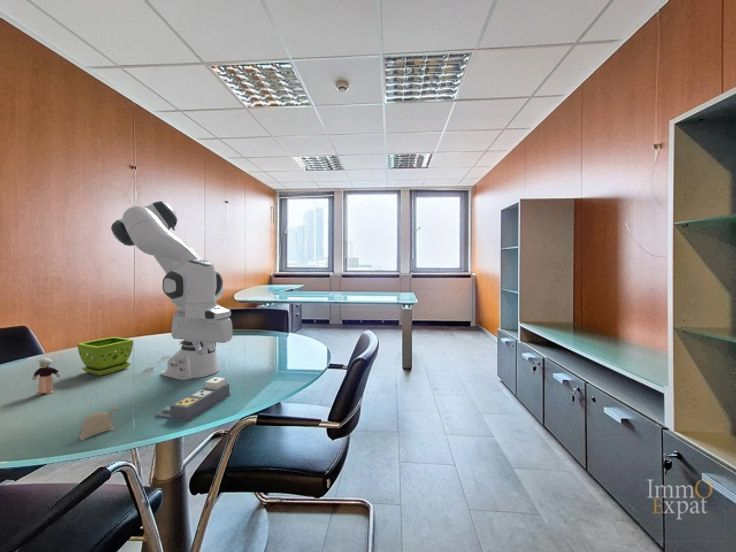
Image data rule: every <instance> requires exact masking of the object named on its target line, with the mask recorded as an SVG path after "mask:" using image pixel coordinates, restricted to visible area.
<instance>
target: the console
mask: <svg viewBox="0 0 736 552" xmlns="http://www.w3.org/2000/svg"><path fill="white" fill-rule="evenodd" d="M200 390H208V391H213V392H212V393H210V394H209V395H207V396H205V397H203V398H200V397H193V396H191V395H193V394H195V393H197V392H198V391H200ZM230 390H231V389H230V383H228V382H226V385H224V386H223V387H221V388H219V389H217V390H214V389H205V386H204V387H202V388H200V389H199V390H195V391H194V392H192V393H191V394H189V395H187V396H185V397H183V398H182V399H180V400H178V401H176V402H174V403H172V404H170V405H168V406H166V407H164V408H163V409H162V411H160V412H158V413H157V414H155V416H154V417H157V418H164V419H170V420H178V421H183V422H190V421H192V420H193V419H195V418H197V417H198V416H200V415H201V414H203V413H205V412H206V411H208V410H210V409H212V407H214V406H216V405H217V404H218V403H220V402H222V401H224V400H225V399H227V398H228V397H230V396H231V395H232V393H231V392H230ZM185 398H193V399H199V400H198V401H196V402H195V403H193V404H191V405H189V406H187V407H185V406H178V405H175V404H176V403H178V402H180V401H182V400H183V399H185Z"/></svg>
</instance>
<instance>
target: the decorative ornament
mask: <svg viewBox="0 0 736 552" xmlns="http://www.w3.org/2000/svg"><path fill="white" fill-rule="evenodd" d="M118 408H119V406H118V405H116V406H115V407H113V408H112V409H111V410H110V411H109V412H104V411H98V412H94V413H92V414H90V415H88V416H87V417H85V419H84V420H83V422H82V424H81V430H80V431H81V432H80V434H79V436H78V437H79V439H80V441H84V440H86V439H88V438H90V437H92V436H94V435H97V434H100V433H104V432H107V431H113V430H115V427H114V426H113V425H112V419H111V416H110V415H111V414H113V412H115V411H116V410H117V409H118Z"/></svg>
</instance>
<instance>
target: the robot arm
mask: <svg viewBox="0 0 736 552" xmlns="http://www.w3.org/2000/svg"><path fill="white" fill-rule="evenodd" d="M177 223H178V218H177V213H176V211H175V209H174V208H173V207H172V206H171V205H170V204H168V203H166V202H165V201H163V200H159V201H154V202H152V203H151V204H148V205H145V206H140V205H137V206H136V205H135V206H131V207H128V208H127V209H126V210H125V211H124V212H123V214H122V217H121V218H120V219H119V218H118V219H117V220H115V221H114V222H113V223H112V224H111V227H110V229H111V233H112V235H113V236H114V237H115V239H116V240H117V241H118V242H119V243H121V244H123V245H124V246H129V247H133V246H135V247H137V249H138V250H139V251H141V252H143V253H144V254H147V255H149V256H153V257H154V259H155V260H156V262H157V263H158V265H159V266H160V267H161V269H162V270H163V272H164V273H165V276H164V277H163V279H162V285H161V288H162V290H163V293H164V294H165V295H166V296H167V297H168V298H169V299H170V302H171V303H172V304H173V305H174V307H175V306H176V307H177V308H178V310H177V311H175V312H174V313H173V319H172V324H171V335H170V336H171V337H172V339H174V340H182V341H180V342H179V344H178V345H181V347H180V349H179V350H177V351H176V352H175V353H174V354H173V355H171V356H170V357H169V358H168V361H167V366H166V368H165V369H163V370H162V371H160V375H161V376H164V377H169V378H172V379H176V380H180V381H185V380H186V381H187V380H190V379H197V378H203V377H207V376H211V375H214V374H216V373H218V372H219V371H220V370H221V367H220V365H219V361H218V357H217V351H216V350H217V349H216V347H217V344H219V343H220V344H225V343H227V342H230V341H231V340H232V338H233V335H234V334H233V322H232V319H231V318H230V317H231V316H232V311H231V310H230V309H228V308H226V307H223V306H221V305H220V304H218V303H217V301H218V300H220V298H222V296H223V295H224V280H223V277H222V275H221V274H220V273H219V272H218V270H217V269H216V268H215V264H214V263H213V262H211V261H208V260H205V259H203V258H202V257H201V256H200V255H199V254H198V253H197V252H196V251H195V249H194V248H192V247H191V246H190V245H189V244H188V243H186V242H185V241H184V240H182V239H180V237H178V236H177V235H175V234H174V233H173V232H171V229H172V230H173V231H175V230H176V228H175V227H176V226H177Z"/></svg>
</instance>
